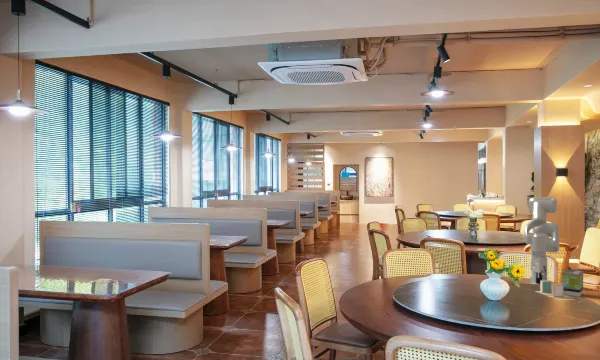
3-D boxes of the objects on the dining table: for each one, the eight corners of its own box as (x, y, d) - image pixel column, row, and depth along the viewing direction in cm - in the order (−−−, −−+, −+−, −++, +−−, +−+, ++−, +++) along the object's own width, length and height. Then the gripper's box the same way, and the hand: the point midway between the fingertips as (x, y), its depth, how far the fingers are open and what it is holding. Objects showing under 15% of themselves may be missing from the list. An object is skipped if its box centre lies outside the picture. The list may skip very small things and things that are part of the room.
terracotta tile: (551, 296, 269) (551, 284, 269) (561, 296, 269) (561, 284, 270) (553, 296, 267) (553, 284, 267) (563, 296, 267) (563, 284, 268)
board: (534, 293, 282) (534, 291, 282) (551, 293, 283) (551, 291, 283) (557, 301, 260) (557, 299, 260) (575, 301, 261) (575, 299, 261)
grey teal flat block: (540, 291, 280) (540, 280, 280) (549, 291, 280) (549, 280, 280) (542, 292, 278) (542, 281, 278) (551, 292, 278) (551, 281, 279)
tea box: (580, 298, 268) (580, 273, 269) (561, 296, 274) (561, 271, 275) (583, 294, 280) (583, 270, 281) (564, 292, 286) (564, 268, 287)
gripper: (526, 252, 294) (526, 281, 293) (540, 255, 279) (540, 286, 278) (537, 252, 294) (537, 281, 294) (552, 255, 279) (552, 285, 279)
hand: (539, 283), depth 286 cm, fingers closed
